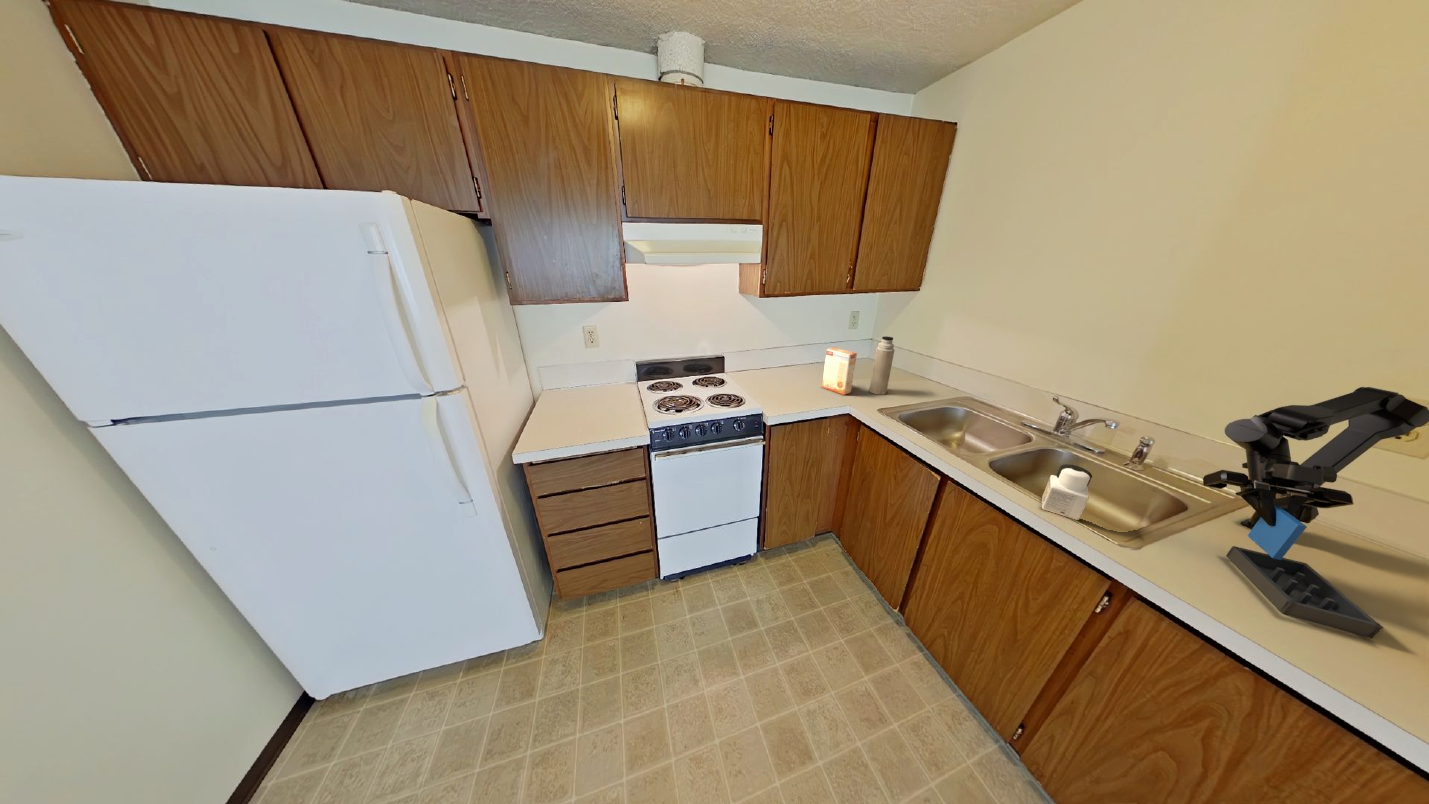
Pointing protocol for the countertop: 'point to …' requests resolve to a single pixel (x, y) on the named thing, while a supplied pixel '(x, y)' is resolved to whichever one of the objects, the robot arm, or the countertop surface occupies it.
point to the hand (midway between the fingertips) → (1277, 527)
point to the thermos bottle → (882, 366)
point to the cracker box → (839, 370)
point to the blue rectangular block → (1277, 533)
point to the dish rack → (1302, 592)
